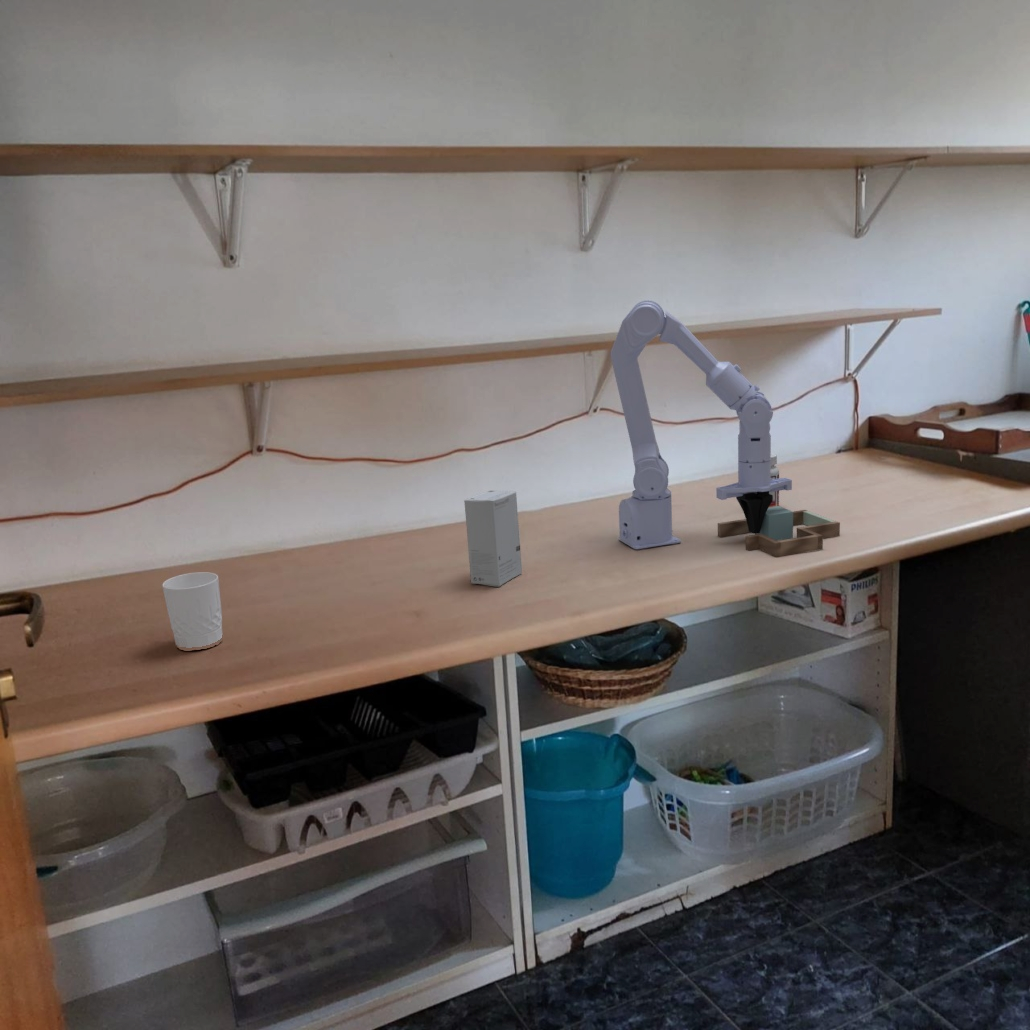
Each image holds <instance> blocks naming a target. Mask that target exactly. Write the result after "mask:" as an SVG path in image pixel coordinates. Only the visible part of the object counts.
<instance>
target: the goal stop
mask: <svg viewBox="0 0 1030 1030" xmlns="http://www.w3.org/2000/svg"><path fill="white" fill-rule="evenodd" d="M830 522H836V520H834V519H832V518H828V517H825V516H822V515H820V514H817V513H814V512H811V511H808V510H807V511H804V512H803V524H802V525H804V524H805V525H804V526H811V525H817V524H823V523H830Z"/></svg>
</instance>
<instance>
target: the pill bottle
mask: <svg viewBox="0 0 1030 1030" xmlns="http://www.w3.org/2000/svg"><path fill="white" fill-rule="evenodd" d="M777 457H778V456H777V454H775V453H772V452H771V479H780V469H779V468H778V467H777V466H776V465H777V463H778V462H777V461H778V459H777ZM769 494H770V495H773V501H772V502H771V504H770V506H769V507H775V506H780V491H773V492H769Z"/></svg>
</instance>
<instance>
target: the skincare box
mask: <svg viewBox="0 0 1030 1030" xmlns="http://www.w3.org/2000/svg"><path fill="white" fill-rule="evenodd" d="M463 501H464V511H465V514H464V515H465V523H466V524H465V525H466V536H467V548H468V561H469V573H470V575H469V576H470V583H471V584H474V585H477V584H478V585H483V586H489V587H495V588H499V587H501V586H503V584H506V583H507V582H509V581H511V580H512V579H513V578H515V577H517V576H520V575H522V572H523V570H522V569H523V568H522V553H521V541H520V540H521V539H520V527H519V526H520V525H519V514H518V502H517V492H516V491H512V490H509V491H508V490H488V491H484V492H482V493H478V494H475V495H474V496H471V497H468V498H466V499H464V500H463Z"/></svg>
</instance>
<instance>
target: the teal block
mask: <svg viewBox="0 0 1030 1030" xmlns="http://www.w3.org/2000/svg"><path fill="white" fill-rule="evenodd" d="M793 512H794V511H792V510H789V509H787V508H784V507H781V506H780V505H779V506H775V507H768V509H767V511H766V514H765V516H764V519H763V522H762V526H761V530H760V533H757V534H763V535H765V536H767V537H770V538H772V539H774V540H776V541H781V540H787V539H793V538H794V526H793Z"/></svg>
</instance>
